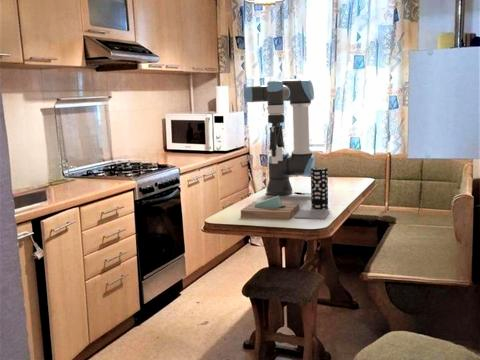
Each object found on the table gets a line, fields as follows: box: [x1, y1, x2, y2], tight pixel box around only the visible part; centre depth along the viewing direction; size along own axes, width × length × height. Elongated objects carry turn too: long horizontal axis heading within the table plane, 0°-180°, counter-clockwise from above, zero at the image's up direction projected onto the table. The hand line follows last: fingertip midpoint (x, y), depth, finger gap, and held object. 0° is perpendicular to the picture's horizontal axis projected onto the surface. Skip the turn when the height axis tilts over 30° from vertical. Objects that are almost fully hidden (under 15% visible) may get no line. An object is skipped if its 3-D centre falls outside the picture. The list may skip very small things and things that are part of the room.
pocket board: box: [240, 201, 301, 220], centre depth 250 cm, size 20×24×4 cm
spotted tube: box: [310, 166, 329, 211], centre depth 257 cm, size 8×8×20 cm
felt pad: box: [294, 209, 331, 220], centre depth 244 cm, size 14×14×1 cm
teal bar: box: [255, 195, 283, 208], centre depth 250 cm, size 4×12×5 cm, turn 71°
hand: (277, 162), depth 245 cm, fingers open, 9 cm apart
